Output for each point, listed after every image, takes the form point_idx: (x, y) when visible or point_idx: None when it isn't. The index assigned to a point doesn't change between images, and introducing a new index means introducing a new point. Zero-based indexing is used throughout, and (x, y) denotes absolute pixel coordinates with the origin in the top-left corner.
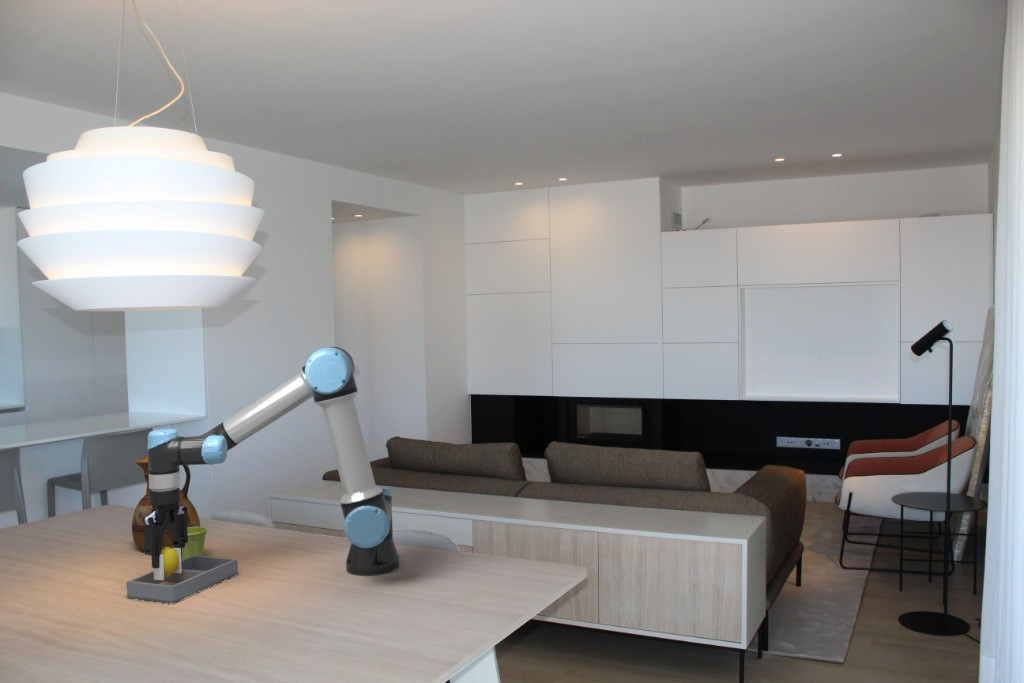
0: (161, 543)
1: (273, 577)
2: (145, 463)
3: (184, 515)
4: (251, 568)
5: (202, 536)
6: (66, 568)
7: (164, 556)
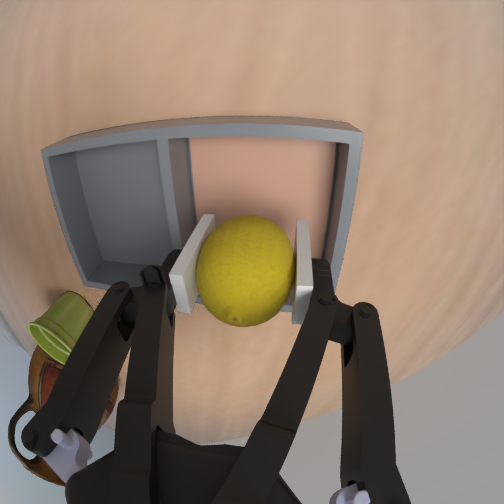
0: (303, 340)
1: (57, 39)
2: (64, 484)
3: (56, 411)
4: (37, 149)
5: (42, 319)
6: (214, 413)
7: (283, 279)
